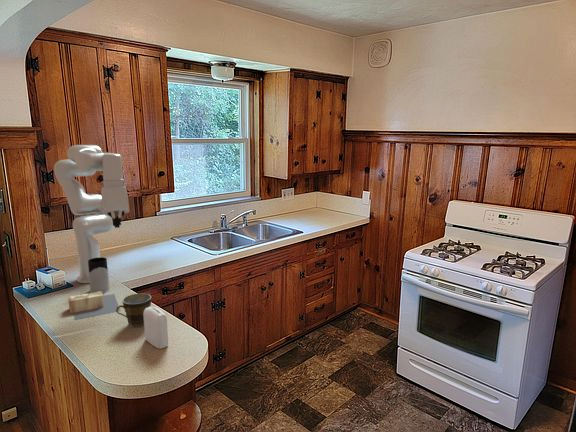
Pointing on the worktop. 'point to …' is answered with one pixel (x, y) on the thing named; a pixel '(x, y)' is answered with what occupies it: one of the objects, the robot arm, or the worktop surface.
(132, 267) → the worktop surface
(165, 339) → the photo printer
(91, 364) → the worktop surface
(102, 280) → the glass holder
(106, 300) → the rubber mat
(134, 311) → the ceramic cup
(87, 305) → the maple block
